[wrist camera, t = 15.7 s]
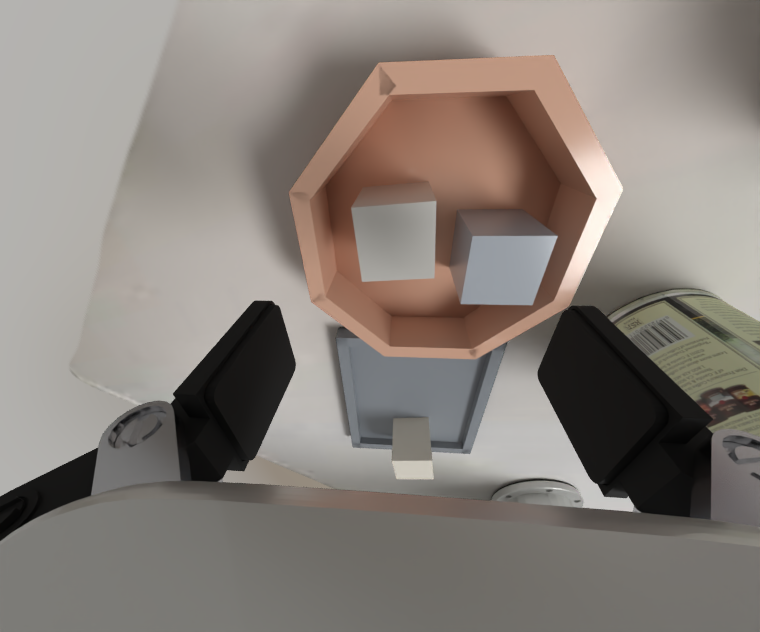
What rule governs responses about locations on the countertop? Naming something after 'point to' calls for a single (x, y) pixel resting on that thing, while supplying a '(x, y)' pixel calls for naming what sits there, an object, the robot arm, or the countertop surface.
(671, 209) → the countertop surface
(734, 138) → the countertop surface
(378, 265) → the pebble grey
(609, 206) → the bowl
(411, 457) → the cream foam cube
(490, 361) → the tray
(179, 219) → the countertop surface
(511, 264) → the matte gray cube
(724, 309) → the coffee can
